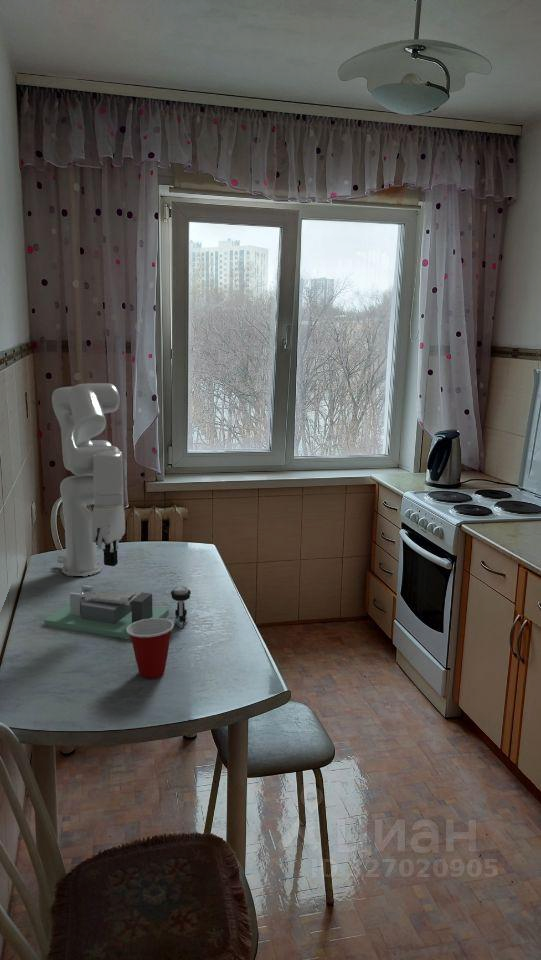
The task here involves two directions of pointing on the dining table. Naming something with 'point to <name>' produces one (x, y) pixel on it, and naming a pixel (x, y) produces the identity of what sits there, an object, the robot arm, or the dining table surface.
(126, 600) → the retention strap
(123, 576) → the dining table surface
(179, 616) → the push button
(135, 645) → the plastic cup
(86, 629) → the board
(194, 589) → the dining table surface
